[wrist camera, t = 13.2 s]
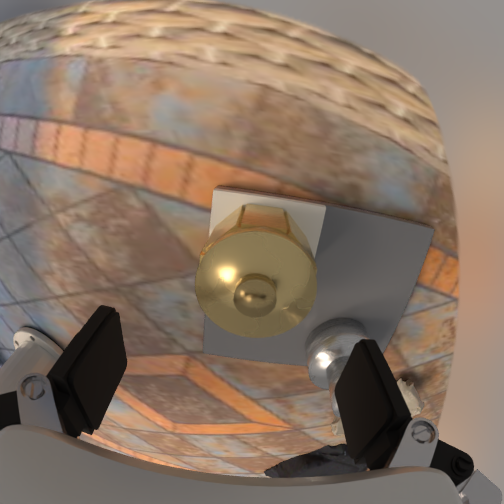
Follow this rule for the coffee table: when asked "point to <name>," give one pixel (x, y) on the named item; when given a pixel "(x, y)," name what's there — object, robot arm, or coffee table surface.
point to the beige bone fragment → (410, 399)
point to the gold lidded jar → (256, 273)
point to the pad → (301, 212)
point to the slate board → (343, 282)
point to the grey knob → (332, 352)
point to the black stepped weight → (318, 464)
